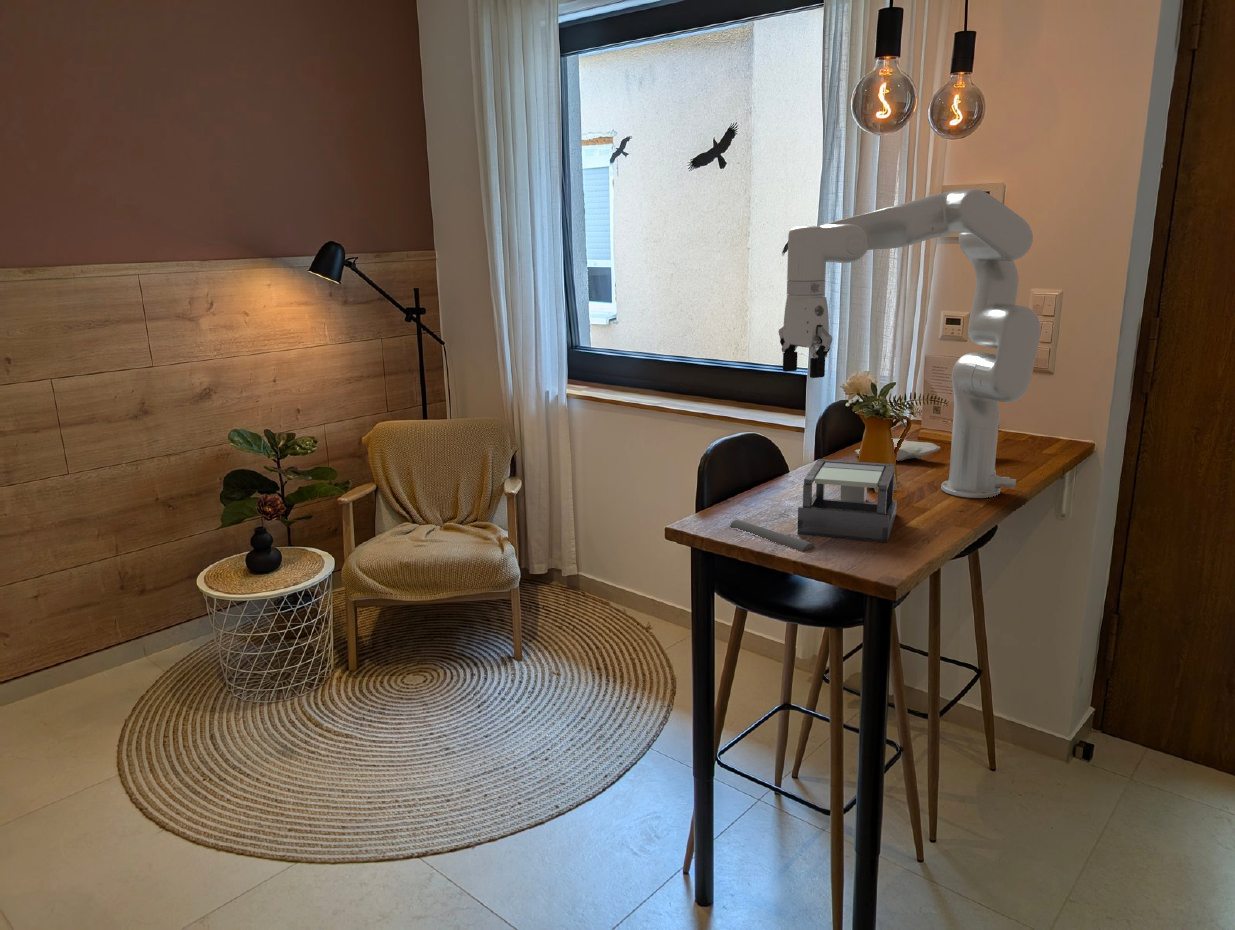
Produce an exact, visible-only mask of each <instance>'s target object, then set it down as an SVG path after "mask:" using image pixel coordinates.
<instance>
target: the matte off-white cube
mask: <svg viewBox="0 0 1235 930" xmlns="http://www.w3.org/2000/svg"><path fill="white" fill-rule="evenodd" d="M867 492H868V487H855V486H843V485H840V500H845V501H857V502H867V498H868V497H867V495H868V494H867Z"/></svg>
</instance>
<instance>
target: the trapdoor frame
mask: <svg viewBox="0 0 1235 930" xmlns="http://www.w3.org/2000/svg"><path fill="white" fill-rule="evenodd" d="M826 462H827V463H841V464H855V465H869V466H883V467H884V474H883V476H882V478H881V481H880V482H879V485H878V491H877V503H876V502H867V501H866V502H857V501H845V500H841V499H831V498H825V485H826V484H817V483H815V477H816V476H817V474H818V473H819V471H820V470H821V468H822V467H823V465H824V464H825V463H826ZM895 469H896V464H894V463H883V462H882V463H881V462H868V461H867V462H865V461H864V462H863V461H853V460H852V461H850V460H838V459H836V460H835V459H821V458H818V459H817V461H816V462H815V463H814V465H813V466H812V468H811V469H810V470H809V472H808V473H807V474H806V475H805V477H804V479H803V484H802V485H803V486H802V488H803V489H802V505H798V508H797V534H798V535H807V536H817V537H826V538H834V539H835V538H836V539H847V540H857V541H864V542H865V541H867V542H874V543H875V542H877V543H888V541H889V538H890V535H891V532H892V528H893V524H894V522H895V518H896V515H897V506H898V505H897V503H898V502H897V501H898V500H897V499H894V485H895ZM813 483H815V484H816V486H815V488H816V489H815V493H813Z"/></svg>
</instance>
